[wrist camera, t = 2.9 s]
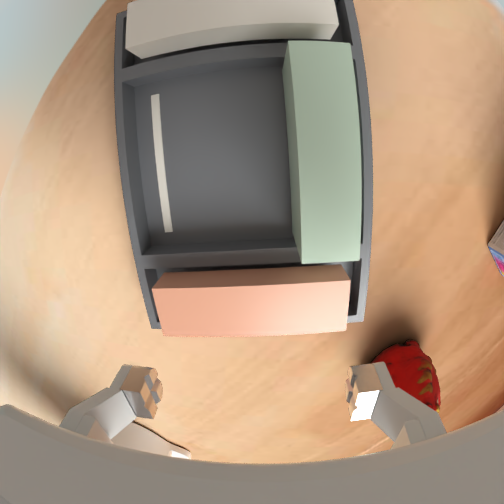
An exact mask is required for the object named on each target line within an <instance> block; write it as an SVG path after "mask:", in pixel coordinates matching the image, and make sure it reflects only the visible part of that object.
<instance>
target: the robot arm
mask: <svg viewBox="0 0 504 504" xmlns="http://www.w3.org/2000/svg"><path fill="white" fill-rule="evenodd" d="M347 373H348V377H349V378H348V379H347V380H346V383H345V396H346V401H347V402H349V403H350V404H349V408H348V410H349V414H350V418H351V421H353V420H361V419H368V418H370V419H371V420H372V421H373V422H374V423H375V424H376V425H377V426H378V427H379V428H380V429H381V430H382V431H383V432H384V433H385V434H386V435H388V436H389V437H390V438H391V439H392V440H393V441H394V444H393V445H392V447H391V449H390V450H386V451H381V452H376V453H371V454H366V455H360V456H354V457H348V458H341V459H333V460H324V461H314V462H301V463H279V464H247V463H225V462H212V461H202V460H193V459H191V453H190V452H189V451H187V450H185V449H183V448H180V447H178V446H175V445H173V444H170V443H169V442H167V441H165V440H164V439H162V438H161V437H159V436H158V435H156V434H154V433H153V432H151V431H149V430H147V429H146V428H144V427H142V426H139V425H137V424H135V423H133V422H132V421H133V420H134V419H136V417H142V418H149V419H154V416H155V414H156V411H157V406H156V404H157V403H158V402H159V401H161V398H162V392H163V389H162V384H161V381H160V380H158V379H157V375H158V373H157V371H156V369H154V368H149V367H141V366H133V365H126V364H124V365H123V366H122V367H121V369H120V370H119V372H118V374H117V375H116V377H115V379H114V381H113V382H112V384H111V386H110V388H105V389H103V390H102V391H100V392H98V393H96V394H95V395H93V396H91V397H90V398H88V399H86V400H84V401H83V402H81V403H79V404H77V405H76V406H74V407H72V408H70V409H69V411H68V413H67V414H66V416H65V417H64V419H63V421H62V422H61V424H60V426H57V425H54V424H52V423H49V422H47V421H45V420H42V419H40V418H38V417H35V416H33V415H31V414H29V413H27V412H25V411H22V410H20V409H18V408H16V407H14V406H12V405H9V404H6V405H3V406H0V504H504V409H503V410H501V411H499V412H497V413H495V414H493V415H491V416H488V417H486V418H484V419H482V420H479V421H477V422H475V423H472V424H470V425H467V426H465V427H462V428H460V429H457V430H454V431H452V432H449V433H447V432H446V430H445V428H444V426H443V423H442V421H441V419H440V417H439V414H438V412H436V411H435V410H433V409H431V408H430V407H428V406H427V405H425V404H424V403H422V402H420V401H419V400H417V399H416V398H414V397H413V396H411V395H410V394H408V393H406V392H405V391H403V390H402V389H400V388H399V387H398V388H395V385H394V383H393V381H392V378H391V376H390V374H389V371H388V369H387V367H386V364H385V363H384V362H377V363H372V364H364V365H356V366H349V368H348V372H347Z"/></svg>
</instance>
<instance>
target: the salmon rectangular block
mask: <svg viewBox="0 0 504 504" xmlns="http://www.w3.org/2000/svg"><path fill="white" fill-rule="evenodd" d="M350 283H351V280H350V278H349V277H348V275H347V273H346V272H345V270H344V268H343V267H342V265H341V264H335V265H318V266H301V267H282V268H262V269H241V270H218V271H193V272H165V273H163V275H162V276H161V277H160V279H159V280H158V281H157V282H156V284H155V285H154V286H153V288H152V292H153V297H154V301H155V305H156V309H157V313H158V317H159V321H160V324H161V328H162V332H163V336H176V337H251V336H277V335H296V334H311V333H324V332H335V331H346V326H347V317H348V306H349V295H350Z"/></svg>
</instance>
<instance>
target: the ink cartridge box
mask: <svg viewBox="0 0 504 504" xmlns="http://www.w3.org/2000/svg"><path fill="white" fill-rule="evenodd" d="M488 248H489V250H490V252H491V254H492V256H493V258H494V260H495V262H496V265H497V267H498V269H499V271H500V273H501V275H503V276H504V220H503V222H502V224H501V225H500V227H499V228H498V230H497V231H496V233H495V234H494V236H493V237H492V239H491V240H490V242H489V243H488Z"/></svg>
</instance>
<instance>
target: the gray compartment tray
mask: <svg viewBox="0 0 504 504" xmlns="http://www.w3.org/2000/svg"><path fill="white" fill-rule="evenodd" d="M334 2H335V7H336V12H337V17H338V22H339V26H338V27H337V29H336V31H335V32H334V34H333V36H332V37H331V39H330V40H328V39H263V40H248V41H237V42H228V43H220V44H212V45H206V46H199V47H194V48H188V49H183V50H178V51H173V52H168V53H164V54H160V55H156V56H152V57H148V58H144V59H141V58H139V57H138V56H136V55H135V54H133V53H132V52H130V51H128V50H127V49H125V44H126V21H127V11H124V12H121V13H118V14H117V16H116V30H115V55H114V91H115V117H116V132H117V145H118V156H119V165H120V174H121V182H122V190H123V197H124V204H125V210H126V216H127V222H128V228H129V234H130V239H131V244H132V249H133V254H134V259H135V264H136V268H137V273H138V277H139V281H140V286H141V290H142V294H143V298H144V302H145V306H146V309H147V313H148V317H149V321H150V324H151V328H152V329H162V328H161V324H160V321H159V317H158V313H157V309H156V305H155V301H154V297H153V292H152V288H153V286H154V285H155V284H156V282H157V281H158V280H159V279H160V277H161V276H162V275H163V273H165V272H193V271H218V270H241V269H262V268H282V267H301V266H318V265H335V264H341V265H342V267H343V268H344V270H345V272H346V273H347V275H348V277H349V278H350V280H351V283H350V295H349V306H348V317H347V323H351V322H361V321H364V314H365V306H366V297H367V288H368V278H369V267H370V254H371V238H372V214H373V158H372V135H371V119H370V107H369V96H368V87H367V78H366V70H365V63H364V56H363V50H362V44H361V38H360V33H359V27H358V22H357V17H356V13H355V8H354V4H353V0H334ZM288 41H329V42H343V43H350V45H351V52H352V59H353V66H354V74H355V82H356V91H357V101H358V113H359V127H360V144H361V176H362V209H361V242H360V260H359V261H345V262H328V263H311V264H302V263H301V260H300V256H299V253H298V249H297V246H296V243H295V239H294V236H293V233H292V209H291V187H290V168H289V152H288V137H287V123H286V110H285V98H284V86H283V75H282V69H283V64H284V59H285V54H286V49H287V44H288Z"/></svg>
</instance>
